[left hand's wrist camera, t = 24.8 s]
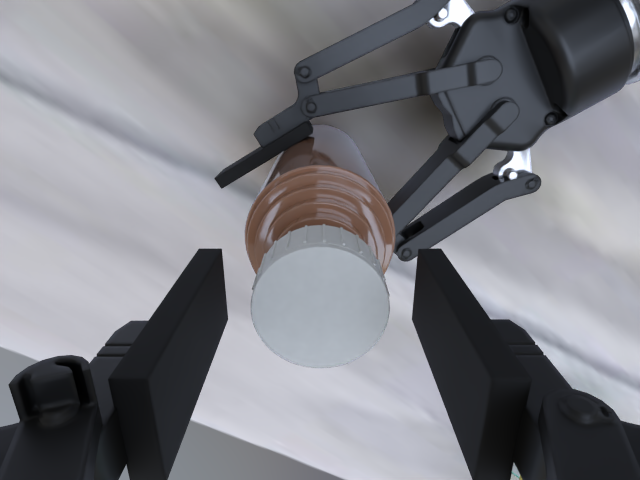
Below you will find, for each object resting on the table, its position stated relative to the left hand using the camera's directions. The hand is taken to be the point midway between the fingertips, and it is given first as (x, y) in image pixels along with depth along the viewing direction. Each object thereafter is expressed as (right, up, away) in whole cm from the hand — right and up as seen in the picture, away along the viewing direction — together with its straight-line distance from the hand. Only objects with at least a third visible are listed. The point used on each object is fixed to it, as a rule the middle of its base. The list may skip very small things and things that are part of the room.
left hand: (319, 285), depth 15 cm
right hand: (-4, +3, +14) cm, 15 cm away
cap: (0, -1, -1) cm, 1 cm away
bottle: (0, +7, +19) cm, 20 cm away
